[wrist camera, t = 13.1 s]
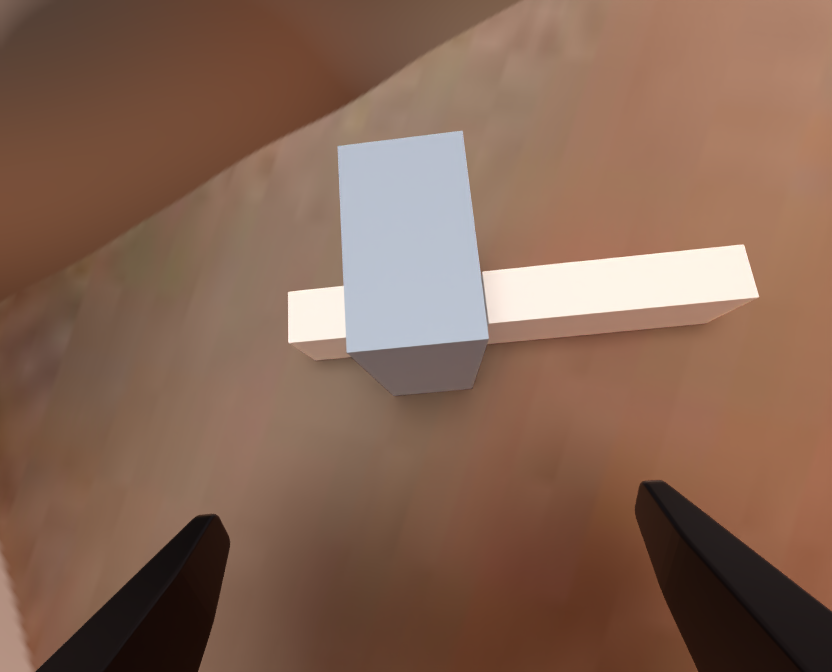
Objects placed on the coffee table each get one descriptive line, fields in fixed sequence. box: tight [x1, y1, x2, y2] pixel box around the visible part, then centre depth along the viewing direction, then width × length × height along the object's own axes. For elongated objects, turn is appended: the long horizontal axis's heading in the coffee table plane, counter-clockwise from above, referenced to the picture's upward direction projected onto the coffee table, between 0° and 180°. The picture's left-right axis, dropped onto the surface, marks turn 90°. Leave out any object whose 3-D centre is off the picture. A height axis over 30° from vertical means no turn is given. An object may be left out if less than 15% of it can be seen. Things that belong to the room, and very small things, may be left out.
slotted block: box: [338, 131, 489, 396], centre depth 18 cm, size 7×4×10 cm, turn 5°
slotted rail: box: [288, 245, 759, 361], centre depth 21 cm, size 2×20×4 cm, turn 94°
